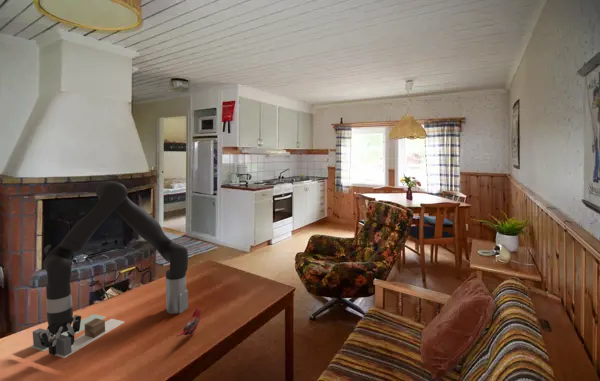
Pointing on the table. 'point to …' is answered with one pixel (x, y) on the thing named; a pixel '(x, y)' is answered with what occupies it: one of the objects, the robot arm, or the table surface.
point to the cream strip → (81, 340)
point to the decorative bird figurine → (191, 324)
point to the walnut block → (94, 328)
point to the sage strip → (37, 341)
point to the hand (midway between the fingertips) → (62, 349)
